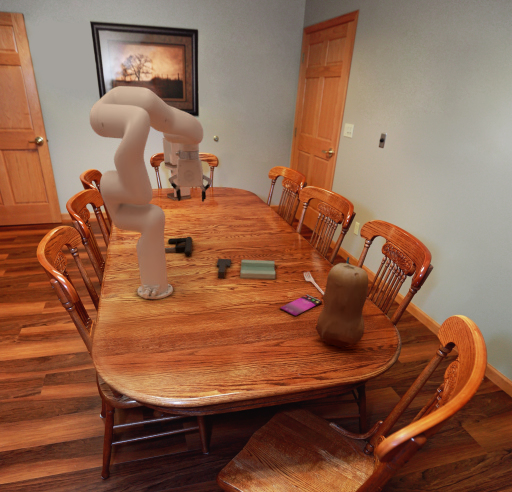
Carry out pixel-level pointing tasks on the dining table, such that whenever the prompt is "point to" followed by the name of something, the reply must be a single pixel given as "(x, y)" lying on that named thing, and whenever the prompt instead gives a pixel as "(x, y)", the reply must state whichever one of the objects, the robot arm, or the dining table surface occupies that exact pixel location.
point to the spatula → (223, 266)
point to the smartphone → (301, 305)
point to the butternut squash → (343, 306)
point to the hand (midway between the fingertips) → (191, 200)
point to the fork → (312, 281)
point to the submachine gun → (181, 248)
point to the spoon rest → (257, 269)
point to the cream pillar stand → (173, 167)
